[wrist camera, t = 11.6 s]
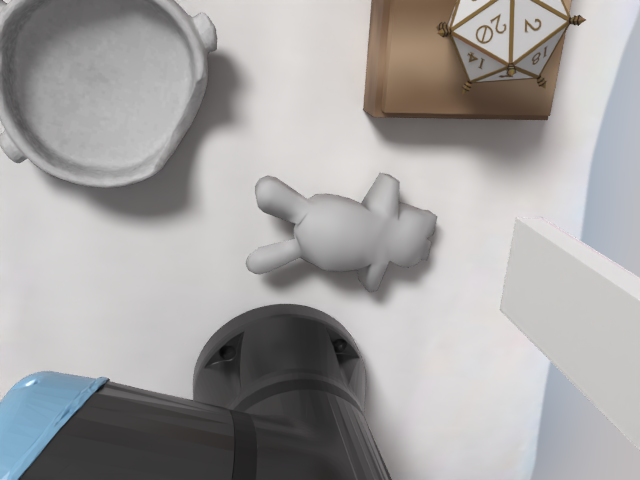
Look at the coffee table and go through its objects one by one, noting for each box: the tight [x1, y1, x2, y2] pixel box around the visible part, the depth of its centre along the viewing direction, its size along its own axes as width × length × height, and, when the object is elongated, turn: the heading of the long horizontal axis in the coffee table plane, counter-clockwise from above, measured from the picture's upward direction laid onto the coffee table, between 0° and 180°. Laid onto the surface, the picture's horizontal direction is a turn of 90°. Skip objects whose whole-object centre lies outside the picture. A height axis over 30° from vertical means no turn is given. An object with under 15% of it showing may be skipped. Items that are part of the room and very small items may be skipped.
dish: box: [0, 0, 217, 188], centre depth 40 cm, size 14×14×5 cm
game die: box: [436, 0, 586, 94], centre depth 38 cm, size 9×8×10 cm
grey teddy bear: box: [246, 173, 437, 292], centre depth 47 cm, size 10×5×15 cm
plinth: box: [363, 0, 572, 120], centre depth 43 cm, size 14×14×4 cm
